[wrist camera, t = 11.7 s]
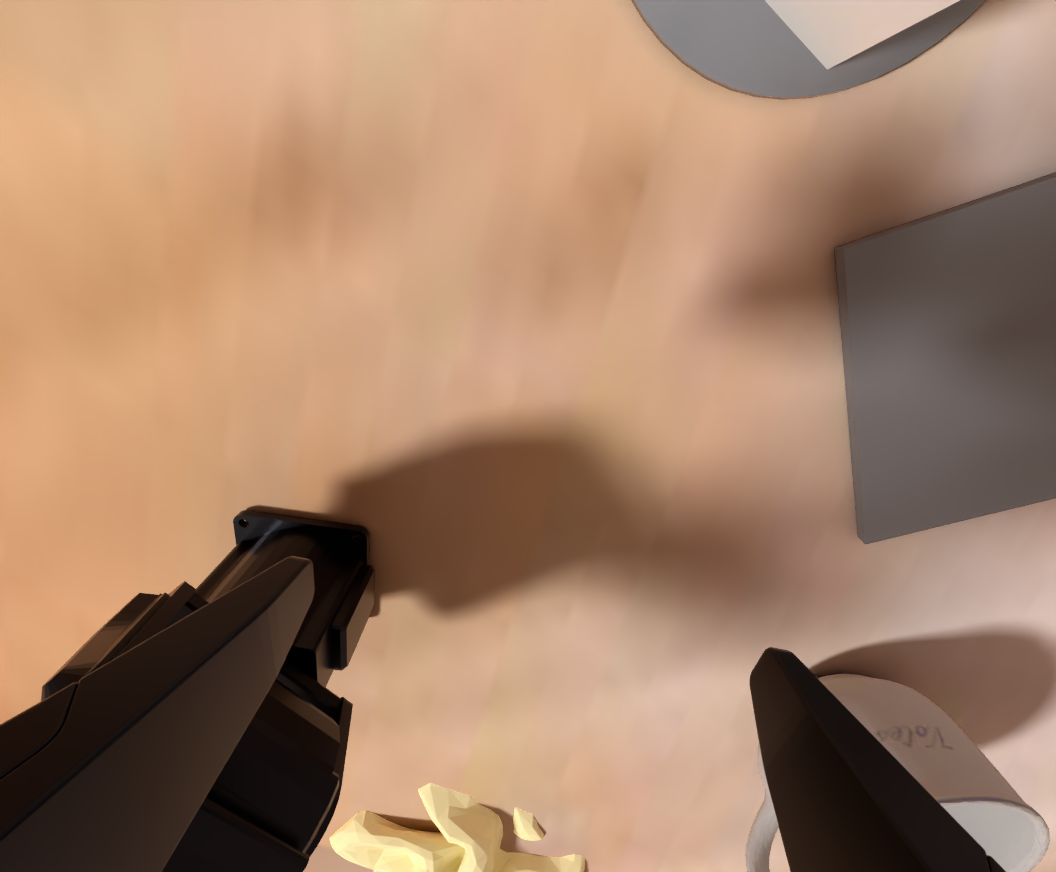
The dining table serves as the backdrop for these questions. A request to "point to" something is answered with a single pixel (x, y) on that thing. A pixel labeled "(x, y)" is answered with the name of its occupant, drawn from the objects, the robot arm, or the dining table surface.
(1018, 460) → the mat
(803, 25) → the white brown stepped block
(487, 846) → the cloth
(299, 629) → the robot arm
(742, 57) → the grey disc
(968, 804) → the teacup
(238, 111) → the dining table surface
